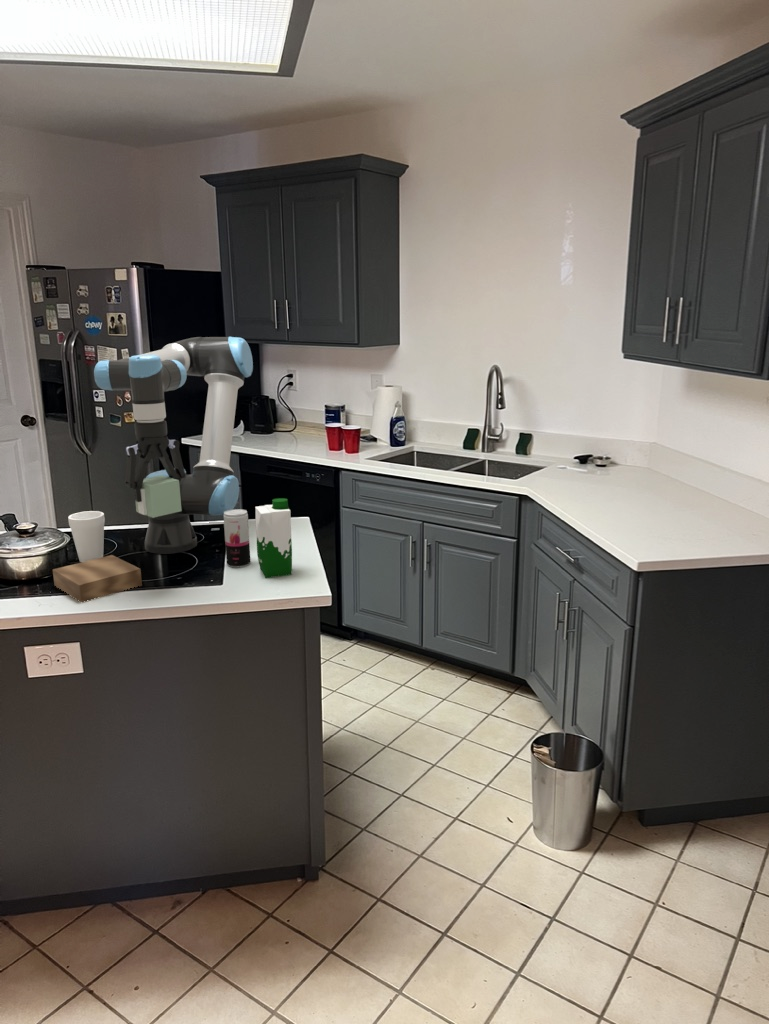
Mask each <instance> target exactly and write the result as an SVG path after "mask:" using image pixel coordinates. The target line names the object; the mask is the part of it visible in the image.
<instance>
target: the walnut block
mask: <svg viewBox="0 0 769 1024" xmlns="http://www.w3.org/2000/svg"><path fill="white" fill-rule="evenodd" d="M141 571H142V570H141V568H139V567H137V566H136V565H134V564H131V563H129V562H128V561H125V560H124V559H121V558H119V557H117V556H115V555H113V554H110V555H106V556H103V557H102V558H97V559H93V560H89V561H85V562H78V563H74V564H70V565H65V566H61V567H57V568H53V569H52V575H53V583H54V587H55V586H56V587H55V588H57V589H58V588H59V589H58V590H60V589H61V590H60V591H62V592H63V591H64V593H65V592H66V593H67V594H66V593H65V594H66V595H68V594H69V595H68V596H70V595H71V596H72V598H73V597H74V599H75V598H76V599H77V600H76V599H75V600H76V601H78V600H79V601H80V603H81V602H82V603H85V602H88V601H87V600H89V601H91V599H93V600H95V599H94V598H96V599H99V598H98V597H100V598H102V597H103V598H104V597H107V596H109V595H113V594H117V593H121V592H125V591H127V589H128V590H131V589H130V588H132V589H135V588H138V586H139V587H142V586H143V584H142V583H143V582H142V572H141ZM134 587H135V588H134ZM124 590H125V591H124ZM71 596H70V597H71ZM79 601H78V602H79ZM84 601H85V602H84Z"/></svg>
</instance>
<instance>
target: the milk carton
mask: <svg viewBox="0 0 769 1024" xmlns="http://www.w3.org/2000/svg"><path fill="white" fill-rule="evenodd" d="M271 502H272V504H264V505H259V506H255V507H254V508H255V510H254V511H255V536H256V551H257V552H256V554H257V560H258V565H259V570H260V572H261V573H262V575H263V576H264V578H265V579H268V578H276V577H277V578H278V577H283V576H291V575H293V546H292V545H293V543H292V521H291V519H292V518H291V513H292V512H291V509H290V507H289V500H288V498H284V497H277V498H273V499H272V500H271Z"/></svg>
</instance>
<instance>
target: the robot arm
mask: <svg viewBox="0 0 769 1024" xmlns="http://www.w3.org/2000/svg"><path fill="white" fill-rule="evenodd" d="M253 361H254V360H253V355H252V351H251V347H250V346H249V344H248V342H247V341H246V340H245V339H244V338H242V337H239V336H238V337H237V336H235V337H234V336H209V337H208V336H205V337H202V336H196V337H190V338H186V339H182V340H178V341H175V342H172V343H168V344H166V345H164V346H163V347H162V348H161V349H158V350H154V351H149V352H146V353H141V354H138V355H131V356H130V357H127V358H121V359H118V360H117V359H116V360H113V359H112V360H111V359H107V360H99V361H98V362H97V363H96V364H95V366H94V369H93V376H94V382H95V384H96V386H97V387H98V388H99V389H101V390H104V391H111V392H112V391H131V392H130V394H131V401H132V402H131V403H132V411H133V412H132V413H133V419H134V420H135V421H134V424H133V425H134V433H135V438H136V442H135V444H134V445H131V446H125V447H124V451H125V456H126V457H125V460H126V461H125V476H124V477H125V478H124V486H125V487H127V488H130V489H132V490H133V499H134V501H136V502H138V510H139V513H138V514H140V515H143V516H147V508H146V498H145V489H144V488H141V487H142V483H143V480H144V479H145V478H151V477H156V476H161V475H163V476H166V477H170V478H173V479H177V480H179V486H180V498H181V509H182V511H180V512H175V513H171V514H167V515H162V516H158V517H154V518H152V517H150V516H147V517H148V526H147V529H146V535H145V539H144V550H145V551H146V552H149V553H151V554H158V555H159V554H160V555H163V554H164V555H167V554H168V555H169V554H177V553H183V552H187V551H190V550H192V549H194V548H195V547H197V545H198V537H197V535H196V532H195V530H194V527H193V525H192V523H191V520H190V515H199V516H200V515H201V516H202V515H203V516H212V517H215V516H223V515H224V512H225V511H228V510H233V509H235V507H236V505H237V503H238V499H239V495H240V487H239V486H240V483H239V482H240V481H239V479H238V477H236V476H235V475H234V470H233V469H232V467H231V466H230V460H231V452H232V444H233V435H234V427H235V419H236V418H235V416H236V409H237V400H238V390H239V389H240V388H241V387H243V386H244V383H245V378H249V377H251V376H252V374H253V370H254V365H253V364H254V362H253ZM188 376H191V377H192V376H193V377H194V376H195V377H203V378H204V381H205V382H206V383H207V384H208V388H207V396H206V405H205V413H204V422H203V428H202V438H201V446H200V454H199V462H197V464H195V465H194V466H193V467H192V473H191V474H187V471H186V469H185V468H184V465H183V460H182V455H181V452H180V443H181V442H180V441H179V440H176V439H173V438H172V439H169V438H168V436H167V435H168V424H167V421H166V418H167V412H166V403H165V402H166V401H165V393H166V392H169V391H175V390H177V389H179V388H182V386H184V385H185V383H186V381H187V377H188ZM168 448H169V452H170V455H171V459H172V461H171V460H170V455H169V454H168V452H167V449H168ZM138 452H139V456H138V463H137V454H138ZM155 458H158V459H159V461H160V463H161V464H162V466H163V468H164V469H161V470H157V471H154V472H151V473H149V474H148V475H146V472H147V470H148V466H149V463H151V460H152V459H155ZM136 465H137V466H136Z"/></svg>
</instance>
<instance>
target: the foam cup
mask: <svg viewBox="0 0 769 1024" xmlns="http://www.w3.org/2000/svg"><path fill="white" fill-rule="evenodd" d="M67 518H68V520H67V521H68V526H69V527H70V531H71V535H72V538H73V542H74V545H75V549H76V553H77V557H78V560H79V563H81V562H85V561H89V560H93V559H97V558H102V557H104V547H105V546H104V545H105V544H104V539H105V538H104V537H105V522H106V519H105V513H104V512H102V511H99V510H89V511H87V510H86V511H80V512H76V513H72V514H70V515H68V517H67Z"/></svg>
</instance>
